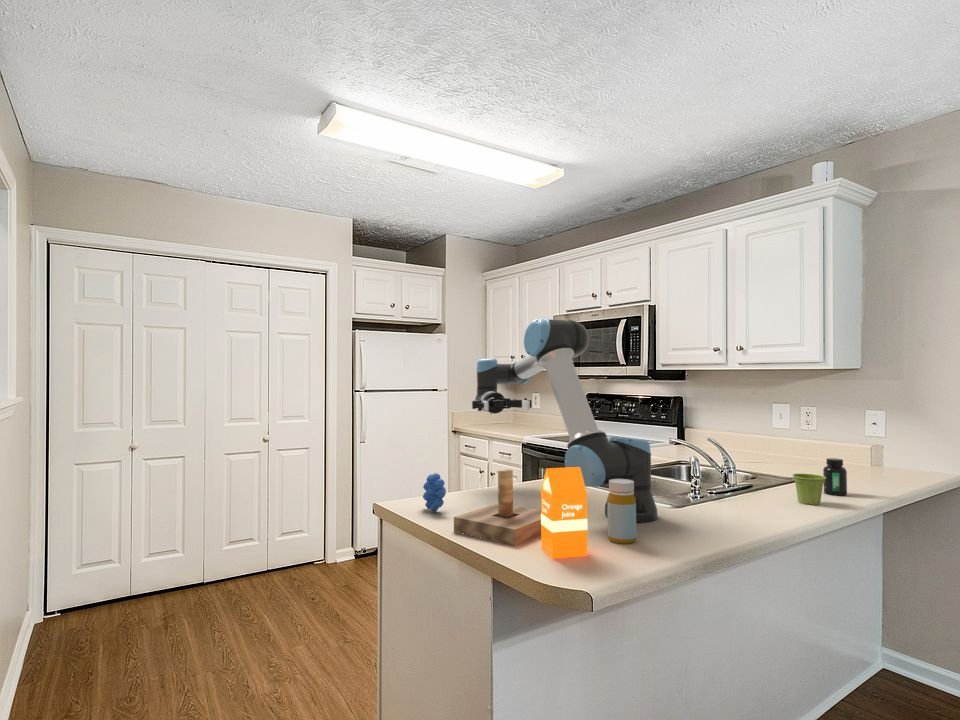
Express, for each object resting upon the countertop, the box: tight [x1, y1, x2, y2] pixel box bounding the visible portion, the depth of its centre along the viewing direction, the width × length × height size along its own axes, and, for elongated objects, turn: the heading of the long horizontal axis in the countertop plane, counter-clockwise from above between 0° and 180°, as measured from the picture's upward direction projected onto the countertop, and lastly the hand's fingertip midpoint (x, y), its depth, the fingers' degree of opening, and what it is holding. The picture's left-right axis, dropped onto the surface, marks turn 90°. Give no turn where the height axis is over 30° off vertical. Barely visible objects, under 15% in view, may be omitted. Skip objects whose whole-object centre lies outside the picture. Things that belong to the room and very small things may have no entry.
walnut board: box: [453, 502, 541, 547], centre depth 154 cm, size 20×20×4 cm
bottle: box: [606, 479, 637, 545], centre depth 144 cm, size 7×7×15 cm
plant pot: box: [791, 473, 826, 506], centre depth 183 cm, size 9×9×9 cm
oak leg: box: [497, 469, 514, 519], centre depth 154 cm, size 4×4×16 cm
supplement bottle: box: [822, 458, 848, 497], centre depth 195 cm, size 7×7×12 cm
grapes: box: [422, 472, 447, 513], centre depth 175 cm, size 12×7×12 cm, turn 34°
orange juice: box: [540, 467, 588, 560], centre depth 135 cm, size 8×9×20 cm
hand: (508, 405), depth 180 cm, fingers open, 13 cm apart
